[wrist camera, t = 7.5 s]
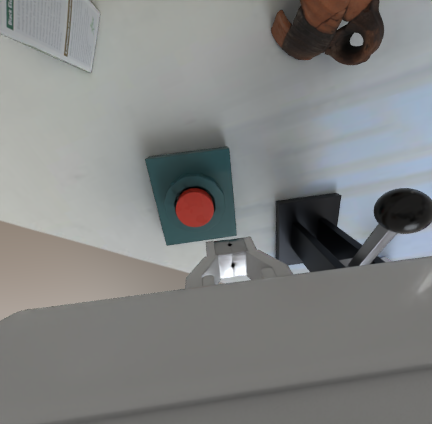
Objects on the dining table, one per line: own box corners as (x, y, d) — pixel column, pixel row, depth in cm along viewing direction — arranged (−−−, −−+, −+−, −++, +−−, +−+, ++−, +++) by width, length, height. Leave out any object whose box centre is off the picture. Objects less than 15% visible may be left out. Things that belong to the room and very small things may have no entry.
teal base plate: (149, 156, 26) (140, 161, 22) (226, 146, 26) (231, 149, 22) (168, 237, 31) (164, 253, 27) (234, 228, 31) (239, 242, 27)
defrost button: (173, 190, 24) (172, 195, 23) (210, 185, 24) (211, 189, 23) (180, 223, 26) (179, 229, 24) (214, 218, 26) (216, 224, 24)
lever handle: (376, 182, 15) (412, 214, 13) (419, 176, 15) (463, 207, 13) (323, 269, 25) (338, 297, 22) (350, 265, 25) (369, 292, 22)
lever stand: (276, 201, 30) (324, 247, 18) (336, 192, 30) (419, 233, 19) (276, 262, 34) (314, 329, 23) (328, 254, 34) (392, 317, 23)
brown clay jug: (246, 12, 21) (296, -117, 14) (300, -19, 24) (369, -142, 16) (314, 104, 23) (398, 35, 15) (359, 66, 25) (450, -11, 17)
